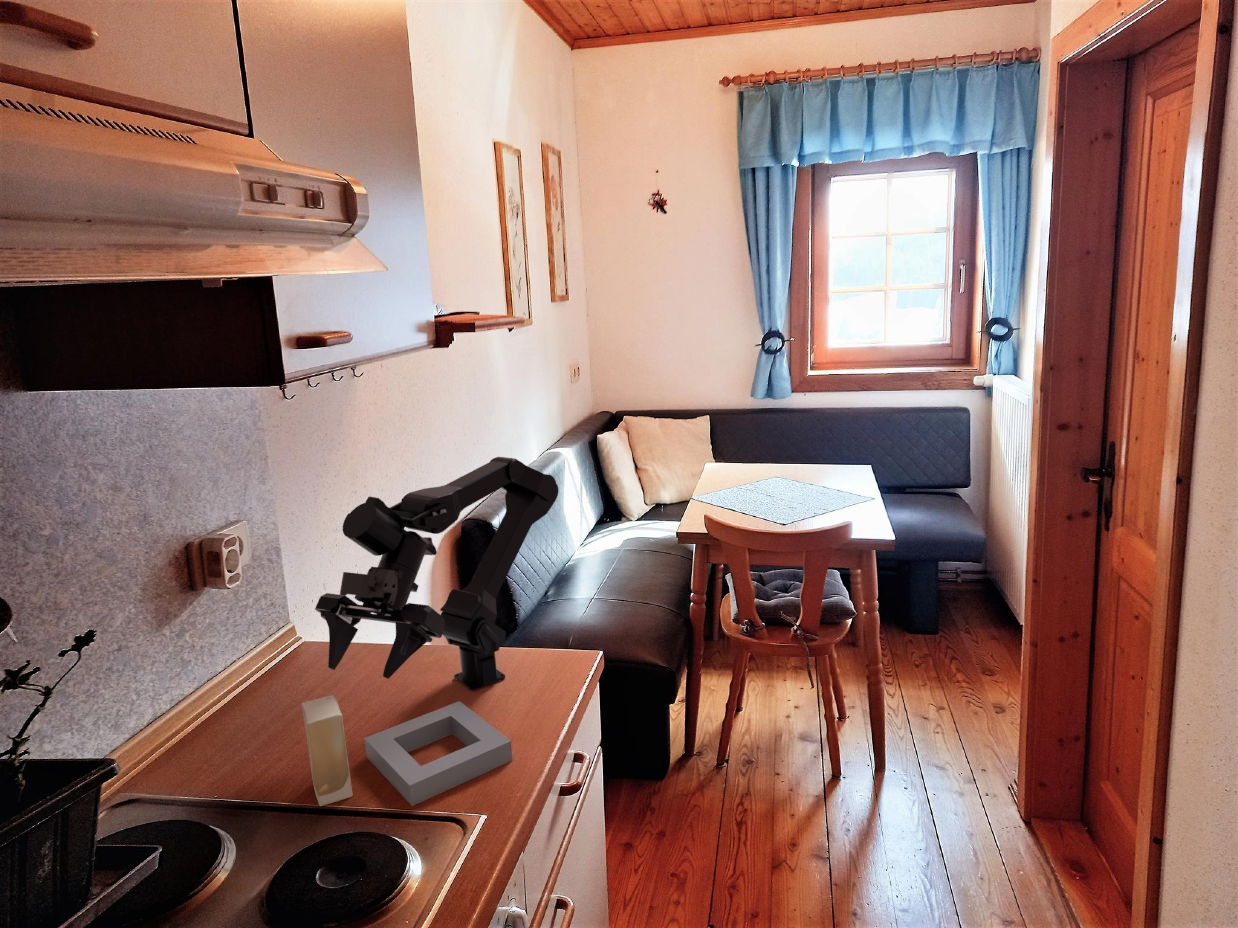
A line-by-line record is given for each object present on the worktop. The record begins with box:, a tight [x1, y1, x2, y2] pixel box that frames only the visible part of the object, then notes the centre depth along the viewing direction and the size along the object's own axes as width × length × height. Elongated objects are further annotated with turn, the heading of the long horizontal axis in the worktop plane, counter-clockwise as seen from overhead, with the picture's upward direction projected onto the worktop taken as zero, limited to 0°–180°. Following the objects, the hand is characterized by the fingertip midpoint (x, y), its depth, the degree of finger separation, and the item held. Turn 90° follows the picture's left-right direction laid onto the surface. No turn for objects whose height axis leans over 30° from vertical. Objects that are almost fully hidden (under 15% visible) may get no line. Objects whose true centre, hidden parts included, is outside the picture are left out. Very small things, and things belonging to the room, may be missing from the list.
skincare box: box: [301, 694, 353, 807], centre depth 110 cm, size 6×4×12 cm
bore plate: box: [363, 701, 514, 807], centre depth 117 cm, size 15×15×3 cm
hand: (357, 673), depth 115 cm, fingers open, 9 cm apart
